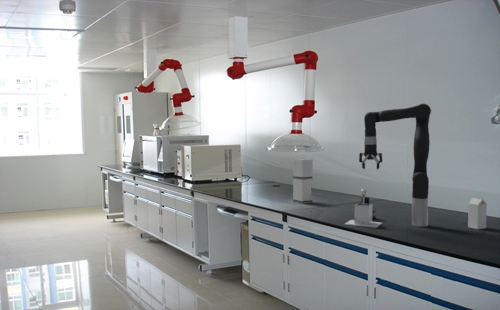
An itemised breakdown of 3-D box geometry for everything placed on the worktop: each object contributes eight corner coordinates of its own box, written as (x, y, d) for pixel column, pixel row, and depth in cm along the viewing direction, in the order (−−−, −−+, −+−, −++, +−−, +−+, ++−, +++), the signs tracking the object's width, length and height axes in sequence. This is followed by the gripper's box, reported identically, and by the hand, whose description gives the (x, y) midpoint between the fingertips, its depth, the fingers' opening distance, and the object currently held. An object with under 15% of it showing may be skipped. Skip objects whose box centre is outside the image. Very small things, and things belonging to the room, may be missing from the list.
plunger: (370, 215, 306) (371, 189, 304) (367, 217, 299) (368, 190, 298) (359, 214, 309) (359, 188, 308) (356, 216, 302) (356, 190, 301)
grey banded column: (312, 202, 389) (312, 159, 387) (302, 203, 383) (302, 159, 381) (303, 200, 398) (303, 158, 396) (293, 201, 392) (293, 159, 390)
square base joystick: (372, 222, 306) (372, 203, 305) (368, 225, 298) (368, 206, 297) (358, 221, 310) (358, 202, 310) (354, 223, 302) (354, 204, 302)
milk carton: (477, 229, 287) (478, 198, 286) (467, 227, 294) (468, 196, 293) (486, 228, 290) (486, 197, 289) (476, 226, 297) (477, 195, 296)
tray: (381, 223, 306) (381, 222, 306) (376, 227, 293) (376, 226, 293) (350, 220, 315) (350, 219, 315) (344, 224, 303) (344, 223, 303)
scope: (376, 198, 320) (363, 199, 317) (376, 219, 321) (362, 219, 318) (370, 196, 328) (357, 197, 325) (370, 216, 329) (357, 217, 326)
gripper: (383, 143, 306) (383, 168, 307) (360, 143, 313) (361, 168, 314) (380, 143, 300) (380, 169, 301) (357, 144, 306) (358, 169, 307)
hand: (370, 169), depth 307 cm, fingers open, 8 cm apart
